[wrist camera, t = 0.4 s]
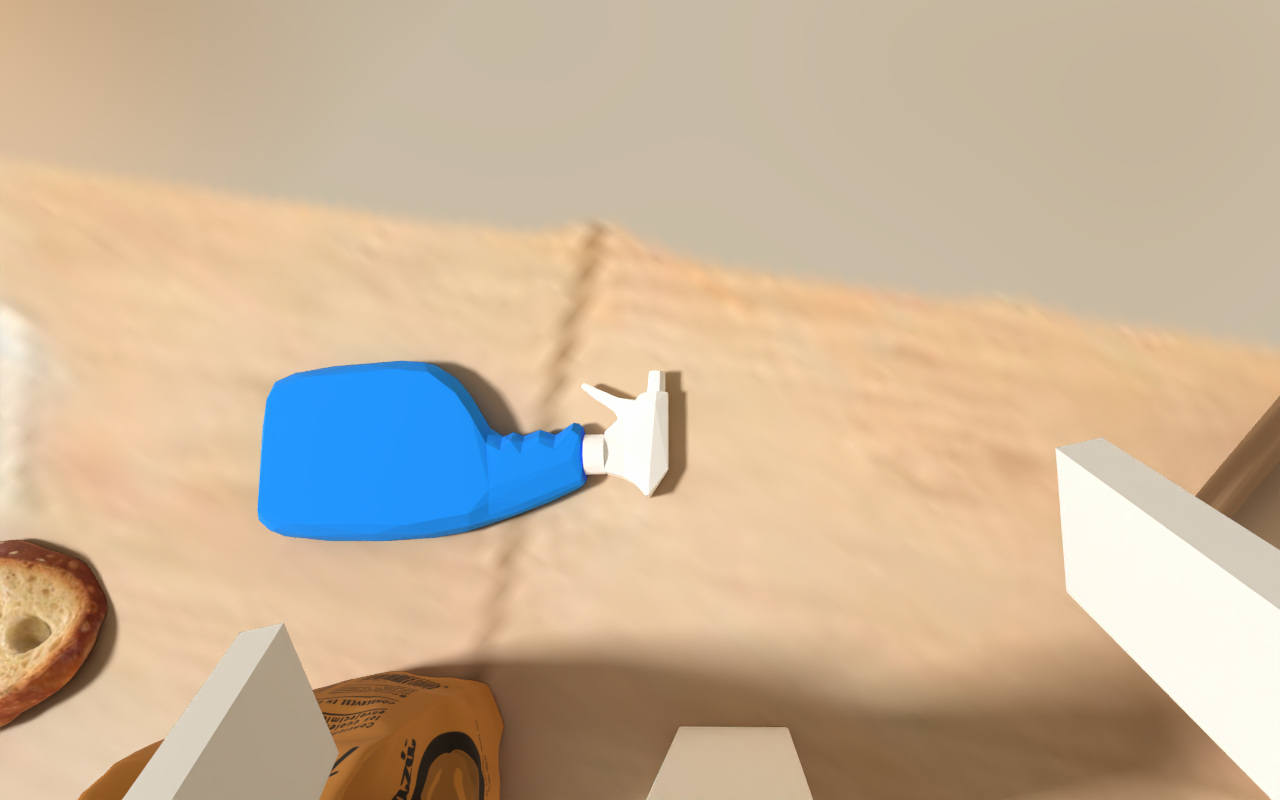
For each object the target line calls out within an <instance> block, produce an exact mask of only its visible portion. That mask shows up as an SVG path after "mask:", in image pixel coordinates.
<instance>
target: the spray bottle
mask: <svg viewBox="0 0 1280 800" xmlns="http://www.w3.org/2000/svg"><path fill="white" fill-rule="evenodd" d="M581 388H582V389H583V390H585V391H586V392H587V393H588V394H590V395H591V396H592V397H593V398H595V399H596V400H598V401H599V402H601V403H602V404H604V405H605V406H607V407H608V408H610V409H611V410H613V411H614V412H615V413H616V415H617V417H618V420H617V421H616V422H615V423H613V424H612V425H611V426H610V427H609V428H608V429H607V430H606V431H605V432H604V434H593V435H585V432H584V428H583V427H582V426H581V425H580V424H577V423H573V424H572V425H570V426H569V427H567V428H566V429H564V430H563V431H561V432H560V433H558V434H557V435H555V434H552V433H549V432H545V431H542V430H538V431H536V432H533V433H531V434H528V435H525V436H523V435H520V434H518V433H515V432H513V433H511V434H509V435H506V436H503V435H501V434H500V433H498V432H496V431H494V430H492V429H491V428H490V426H489V425H488V423H487V421H486V420H485V418H484V417H483V415H482V413H481V412H480V410H479V408H478V407H477V405H476V403H475V402H474V400H473V398H472V397H471V395H470V394H469V393H468V392H467V390H466V389H465V388H464V387H463V385H462V384H461V383H460V382H459V380H458V379H457V378H455V377H454V376H452V375H451V374H449V373H447V372H446V371H444V370H443V369H441V368H440V367H438V366H436V365H434V364H429V363H424V362H411V361H394V362H382V363H370V364H358V365H346V366H334V367H328V368H322V369H317V370H311V371H306V372H300V373H295V374H293V375H290V376H288V377H286V378H284V379H281V380H279V381H277V382H275V384H274V386H273V388H272V390H271V392H270V394H269V396H268V398H267V402H266V409H265V416H264V424H263V433H262V449H261V465H260V480H259V496H258V517H259V521H260V522H262V523H263V524H264V525H265V526H266V527H267V528H268V529H269V530H271V531H273V532H276V533H279V534H281V535H284V536H289V537H299V538H308V539H318V540H327V541H392V540H407V539H421V538H435V537H440V536H446V535H452V534H457V533H463V532H467V531H470V530H473V529H476V528H480V527H483V526H486V525H489V524H492V523H495V522H498V521H501V520H504V519H507V518H510V517H513V516H516V515H519V514H521V513H524V512H526V511H529V510H531V509H534V508H536V507H539V506H541V505H544V504H546V503H549V502H551V501H553V500H555V499H557V498H560V497H562V496H564V495H566V494H568V493H570V492H572V491H575V490H577V489H579V488H581V487H582V486H583V485H584V484H585V483H586V480H587V475H592V474H608V475H611V476H615V477H620V478H624V479H626V480H628V481H630V482H631V483H633V484H635V485H637V487H638V488H639V489H640V490H641V491H642V492H643V493H644V494H645V495H646V497H647V498H650V497H651V496H652V494H653V493H654V491H655V490H656V488H657V487H658V485H659V484H660V482H661V481H662V479H663V477H664V476H665V474H666V473H667V471H668V470H669V416H668V392H665V372H662V371H650V372H649V380H648V390H647V392H644V393H642V394H640V395H639V396H638V397H637V399H636V400H633V399H624V398H617V397H615V396H613V395H610V394H608V393H606V392H603V391H601V390H599V389H596V388H594V387H592V386H589V385H587V384H585V383H583V385H582V386H581Z"/></svg>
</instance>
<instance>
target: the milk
mask: <svg viewBox="0 0 1280 800" xmlns="http://www.w3.org/2000/svg"><path fill="white" fill-rule="evenodd" d="M646 800H813V798H812V795H811V792H810V789H809V786H808V783H807V780H806V778H805V775H804V772H803V769H802V766H801V763H800V760H799V757H798V755H797V752H796V749H795V746H794V743H793V740H792V737H791V734H790V732H789V729H788V728H787V727H686V726H683V727H679V729H678V731H677V733H676V735H675V738H674V740H673V742H672V744H671V746H670V749H669V751H668V753H667V755H666V757H665V759H664V762H663V764H662V766H661V768H660V770H659V773H658V775H657V777H656V779H655V781H654V784H653V786H652V788H651V790H650V792H649V795H648V797H647V799H646Z"/></svg>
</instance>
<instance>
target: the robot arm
mask: <svg viewBox="0 0 1280 800" xmlns="http://www.w3.org/2000/svg"><path fill="white" fill-rule="evenodd" d="M1056 459H1057V472H1058V485H1059V499H1060V512H1061V525H1062V538H1063V551H1064V564H1065V578H1066V591H1067V593H1068V594H1069V595H1070V596H1071V597H1072V598H1073V599H1074V600H1075V601H1076V602H1077V603H1078V604H1079V605H1080V606H1081V607H1082V608H1083V609H1084V610H1085V611H1086V612H1087V613H1088V614H1089V615H1090V616H1091V617H1092V618H1093V619H1094V620H1095V621H1096V622H1097V623H1098V624H1099V625H1100V626H1101V627H1102V628H1103V629H1104V630H1105V631H1106V632H1107V633H1108V634H1109V635H1110V636H1111V637H1112V638H1113V639H1114V640H1115V641H1116V642H1117V643H1118V644H1119V645H1120V646H1121V647H1122V648H1123V649H1124V650H1125V651H1126V652H1127V653H1128V654H1129V655H1130V656H1131V657H1132V658H1133V659H1134V661H1135V662H1136V663H1137V664H1138V665H1139V666H1140V667H1141V668H1142V669H1143V670H1144V671H1145V672H1146V673H1147V674H1148V675H1149V676H1150V677H1151V678H1152V679H1153V680H1154V681H1155V682H1156V683H1157V684H1158V685H1159V686H1160V687H1161V688H1162V689H1163V690H1164V691H1165V692H1166V693H1167V694H1168V695H1169V696H1170V697H1171V698H1172V699H1173V700H1174V701H1175V702H1176V703H1177V704H1178V705H1179V706H1180V707H1181V708H1182V709H1183V710H1184V711H1185V712H1186V713H1187V714H1188V715H1189V716H1190V717H1191V718H1192V719H1193V720H1194V721H1195V722H1196V723H1197V724H1198V725H1199V726H1200V727H1201V728H1202V729H1203V730H1204V732H1205V733H1206V734H1207V735H1208V736H1209V737H1210V738H1211V739H1212V740H1213V741H1214V742H1215V743H1216V744H1217V745H1218V746H1219V747H1220V748H1221V749H1222V750H1223V751H1224V752H1225V753H1226V754H1227V755H1228V756H1229V757H1230V758H1231V759H1232V760H1233V761H1234V762H1235V763H1236V764H1237V765H1238V766H1239V767H1240V768H1241V769H1242V770H1243V771H1244V772H1245V773H1246V774H1247V775H1248V776H1249V777H1250V778H1251V779H1252V780H1253V781H1254V782H1255V783H1256V784H1257V785H1258V786H1259V787H1260V788H1261V789H1262V790H1263V791H1264V792H1265V793H1266V794H1267V795H1268V796H1269V797H1270V798H1271V799H1272V800H1280V550H1279V549H1277V548H1276V547H1274V546H1272V545H1271V544H1269V543H1268V542H1266V541H1265V540H1263V539H1261V538H1260V537H1258V536H1257V535H1255V534H1253V533H1252V532H1250V531H1249V530H1247V529H1246V528H1244V527H1242V526H1241V525H1239V524H1238V523H1236V522H1235V521H1233V520H1231V519H1230V518H1228V517H1227V516H1225V515H1224V514H1222V513H1220V512H1219V511H1217V510H1216V509H1214V508H1212V507H1211V506H1209V505H1208V504H1206V503H1205V502H1203V501H1201V500H1200V499H1198V498H1197V497H1195V496H1194V495H1192V494H1190V493H1189V492H1187V491H1186V490H1184V489H1183V488H1181V487H1179V486H1178V485H1176V484H1175V483H1173V482H1171V481H1170V480H1168V479H1167V478H1165V477H1164V476H1162V475H1160V474H1159V473H1157V472H1156V471H1154V470H1153V469H1151V468H1149V467H1148V466H1146V465H1145V464H1143V463H1142V462H1140V461H1138V460H1137V459H1135V458H1134V457H1132V456H1130V455H1129V454H1127V453H1126V452H1124V451H1123V450H1121V449H1119V448H1118V447H1116V446H1115V445H1113V444H1112V443H1110V442H1108V441H1107V440H1105V439H1104V438H1098V439H1093V440H1089V441H1084V442H1080V443H1076V444H1071V445H1067V446H1062V447H1058V448H1056ZM338 753H339V752H338V749H337V747H336V745H335V742H334V740H333V738H332V735H331V733H330V731H329V728H328V726H327V724H326V721H325V719H324V716H323V714H322V712H321V709H320V707H319V705H318V702H317V700H316V698H315V695H314V693H313V691H312V688H311V686H310V684H309V681H308V679H307V676H306V674H305V672H304V669H303V667H302V665H301V662H300V660H299V658H298V655H297V653H296V651H295V648H294V646H293V643H292V641H291V639H290V636H289V634H288V632H287V629H286V627H285V625H284V623H281V624H276V625H272V626H267V627H263V628H258V629H254V630H250V631H245V632H241V633H239V635H238V636H237V638H236V639H235V640H234V642H233V643H232V645H231V646H230V648H229V649H228V650H227V652H226V653H225V655H224V656H223V657H222V659H221V660H220V662H219V663H218V665H217V666H216V667H215V669H214V670H213V672H212V673H211V674H210V676H209V677H208V679H207V680H206V682H205V683H204V684H203V686H202V687H201V689H200V690H199V691H198V693H197V694H196V696H195V697H194V699H193V700H192V701H191V703H190V704H189V706H188V707H187V708H186V710H185V711H184V713H183V714H182V716H181V717H180V718H179V720H178V721H177V723H176V724H175V725H174V727H173V728H172V730H171V731H170V733H169V734H168V735H167V737H166V738H165V740H164V741H163V742H162V744H161V745H160V747H159V748H158V750H157V751H156V752H155V754H154V755H153V757H152V758H151V759H150V761H149V762H148V764H147V765H146V767H145V768H144V769H143V771H142V772H141V774H140V775H139V776H138V778H137V779H136V781H135V782H134V784H133V785H132V786H131V788H130V789H129V791H128V792H127V793H126V795H125V796H124V798H123V799H122V800H319V799H320V796H321V794H322V792H323V789H324V787H325V784H326V782H327V780H328V777H329V775H330V772H331V770H332V768H333V765H334V763H335V760H336V758H337V756H338Z"/></svg>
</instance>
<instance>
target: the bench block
mask: <svg viewBox="0 0 1280 800" xmlns="http://www.w3.org/2000/svg"><path fill="white" fill-rule="evenodd" d="M1195 497H1197V498H1198V499H1200V500H1201V501H1203V502H1205V503H1206V504H1208V505H1209V506H1211V507H1212V508H1214V509H1216V510H1217V511H1219V512H1220V513H1222V514H1224V515H1225V516H1227V517H1228V518H1230V519H1231V520H1233V521H1235V522H1236V523H1238V524H1239V525H1241V526H1242V527H1244V528H1246V529H1247V530H1249V531H1250V532H1252V533H1253V534H1255V535H1257V536H1258V537H1260V538H1261V539H1263V540H1265V541H1266V542H1268V543H1269V544H1271V545H1272V546H1274V547H1276V548H1277V549H1279V550H1280V397H1279V398H1278V399H1277V400H1276V401H1275V402H1274V404H1273V405H1272V406H1271V407H1270V408H1269V410H1268V411H1267V412H1266V413H1265V414H1264V415H1263V417H1262V418H1261V419H1260V420H1259V421H1258V423H1257V424H1256V425H1255V426H1254V427H1253V428H1252V430H1251V431H1250V432H1249V433H1248V434H1247V436H1246V437H1245V438H1244V439H1243V440H1242V441H1241V443H1240V444H1239V445H1238V446H1237V447H1236V449H1235V450H1234V451H1233V452H1232V453H1231V454H1230V456H1229V457H1228V458H1227V459H1226V460H1225V462H1224V463H1223V464H1222V465H1221V466H1220V467H1219V469H1218V470H1217V471H1216V472H1215V473H1214V475H1213V476H1212V477H1211V478H1210V479H1209V480H1208V482H1207V483H1206V484H1205V485H1204V486H1203V488H1202V489H1201V490H1200V491H1199V492H1198V493H1197V495H1196V496H1195Z"/></svg>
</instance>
